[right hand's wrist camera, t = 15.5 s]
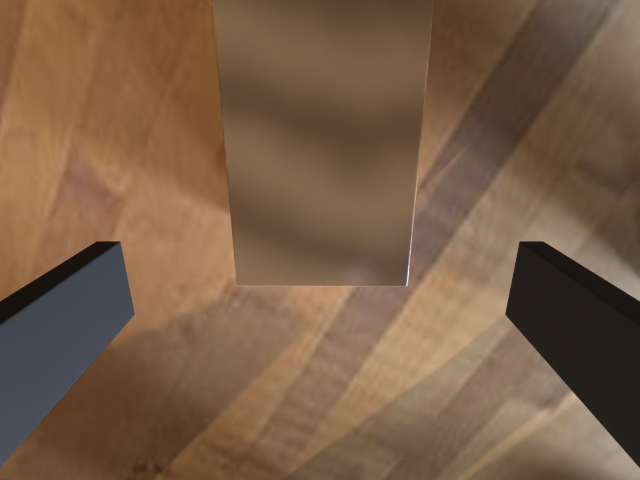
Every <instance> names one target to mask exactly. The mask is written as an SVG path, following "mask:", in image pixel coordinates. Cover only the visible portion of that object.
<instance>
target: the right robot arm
mask: <svg viewBox="0 0 640 480" xmlns="http://www.w3.org/2000/svg"><path fill="white" fill-rule="evenodd" d="M134 315H135V314H134V309H133V304H132V299H131V294H130V288H129V283H128V278H127V273H126V268H125V263H124V258H123V253H122V248H121V243H120V242H95V243H94V244H92V245H91V246H89V247H87V248H86V249H84V250H82V251H81V252H79V253H78V254H76V255H74V256H73V257H71V258H70V259H68V260H66V261H65V262H63V263H62V264H60V265H58V266H57V267H55V268H53V269H52V270H50V271H49V272H47V273H45V274H44V275H42V276H41V277H39V278H37V279H36V280H34V281H32V282H31V283H29V284H28V285H26V286H24V287H23V288H21V289H20V290H18V291H16V292H15V293H13V294H12V295H10V296H8V297H7V298H5V299H3V300H2V301H0V468H1V466H2V465H3V464H4V463H5V462H6V461H7V460H8V458H9V457H10V456H11V455H12V454H13V453H14V452H15V450H16V449H17V448H18V447H19V446H20V445H21V444H22V442H23V441H24V440H25V439H26V438H27V437H28V436H29V434H30V433H31V432H32V431H33V430H34V429H35V428H36V426H37V425H38V424H39V423H40V422H41V421H42V420H43V418H44V417H45V416H46V415H47V414H48V413H49V412H50V410H51V409H52V408H53V407H54V406H55V405H56V404H57V402H58V401H59V400H60V399H61V398H62V397H63V396H64V395H65V393H66V392H67V391H68V390H69V389H70V388H71V387H72V385H73V384H74V383H75V382H76V381H77V380H78V379H79V377H80V376H81V375H82V374H83V373H84V372H85V371H86V369H87V368H88V367H89V366H90V365H91V364H92V363H93V361H94V360H95V359H96V358H97V357H98V356H99V355H100V353H101V352H102V351H103V350H104V349H105V348H106V347H107V345H108V344H109V343H110V342H111V341H112V340H113V339H114V337H115V336H116V335H117V334H118V333H119V332H120V331H121V329H122V328H123V327H124V326H125V325H126V324H127V323H128V322H129V320H130V319H131V318H132V317H133V316H134ZM505 315H506V316H507V317H508V318H509V319H510V320H511V322H512V323H513V324H514V325H515V326H516V327H517V328H518V329H519V331H520V332H521V333H522V334H523V335H524V336H525V337H526V339H527V340H528V341H529V342H530V343H531V344H532V345H533V347H534V348H535V349H536V350H537V351H538V352H539V353H540V355H541V356H542V357H543V358H544V359H545V360H546V361H547V363H548V364H549V365H550V366H551V367H552V368H553V369H554V371H555V372H556V373H557V374H558V375H559V376H560V377H561V379H562V380H563V381H564V382H565V383H566V384H567V385H568V387H569V388H570V389H571V390H572V391H573V392H574V393H575V395H576V396H577V397H578V398H579V399H580V400H581V401H582V402H583V404H584V405H585V406H586V407H587V408H588V409H589V410H590V412H591V413H592V414H593V415H594V416H595V417H596V418H597V420H598V421H599V422H600V423H601V424H602V425H603V426H604V428H605V429H606V430H607V431H608V432H609V433H610V434H611V436H612V437H613V438H614V439H615V440H616V441H617V442H618V444H619V445H620V446H621V447H622V448H623V449H624V450H625V452H626V453H627V454H628V455H629V456H630V457H631V458H632V460H633V461H634V462H635V463H636V464H637V465H638V466H639V468H640V301H638V300H637V299H635V298H633V297H632V296H630V295H628V294H627V293H625V292H624V291H622V290H620V289H619V288H617V287H616V286H614V285H612V284H611V283H609V282H608V281H606V280H604V279H603V278H601V277H599V276H598V275H596V274H595V273H593V272H591V271H590V270H588V269H587V268H585V267H583V266H582V265H580V264H578V263H577V262H575V261H574V260H572V259H570V258H569V257H567V256H566V255H564V254H562V253H561V252H559V251H558V250H556V249H554V248H553V247H551V246H549V245H548V244H546V243H545V242H520V243H519V248H518V253H517V258H516V263H515V268H514V273H513V278H512V283H511V288H510V294H509V299H508V304H507V309H506V314H505Z"/></svg>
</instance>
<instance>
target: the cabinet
mask: <svg viewBox="0 0 640 480" xmlns="http://www.w3.org/2000/svg"><path fill="white" fill-rule="evenodd" d="M212 8H213V20H214V31H215V42H216V54H217V65H218V76H219V88H220V99H221V111H222V122H223V133H224V145H225V156H226V168H227V179H228V190H229V202H230V213H231V225H232V236H233V247H234V259H235V270H236V281H237V286H407V285H408V274H409V263H410V253H411V242H412V232H413V221H414V210H415V200H416V189H417V179H418V168H419V157H420V147H421V136H422V126H423V115H424V104H425V94H426V83H427V73H428V62H429V51H430V41H431V30H432V20H433V9H434V0H212Z"/></svg>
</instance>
